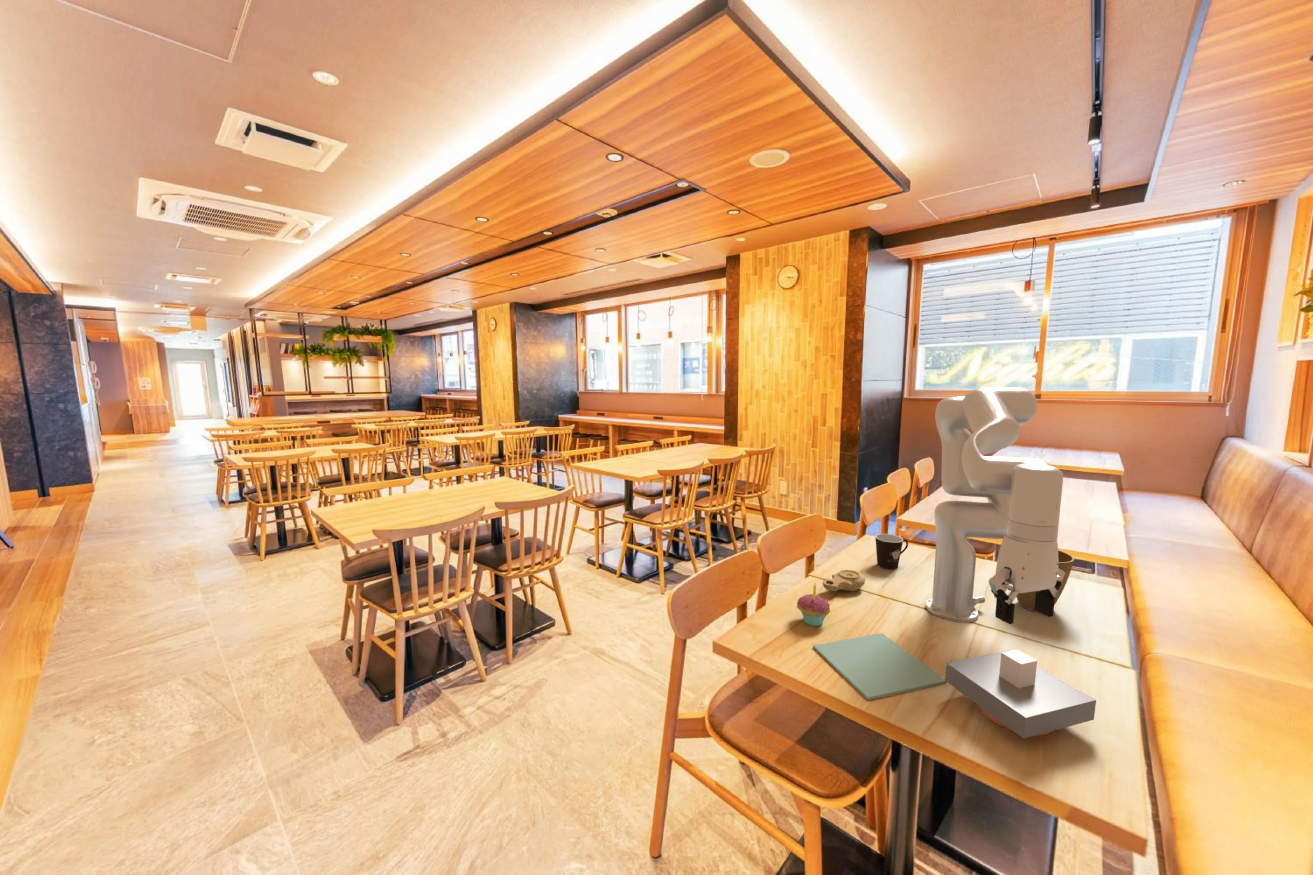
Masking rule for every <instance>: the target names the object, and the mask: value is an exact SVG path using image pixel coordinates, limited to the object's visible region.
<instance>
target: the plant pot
mask: <svg viewBox="0 0 1313 875" xmlns="http://www.w3.org/2000/svg"><path fill="white" fill-rule="evenodd" d="M1074 561H1075V558H1074V556H1072V555H1071V554H1069V553H1067V552H1065V551H1062V550H1059V549H1058V568H1059V569H1061V570H1063V571H1064V572H1065V575H1064V577H1063V580H1062V581H1061V583H1062V584H1061V586H1060V588H1059V589H1058V590H1057V592H1058V595H1057V596H1056V597H1054V596H1053V597H1054V598H1055V603H1054V606H1056V604H1057V602H1058V600H1059V598H1060V597H1061V595H1062V593H1063V592H1064V589H1065V587H1066V585H1067V582H1068V580H1069V577H1070V575H1071V572H1072V569H1073V564H1074ZM1012 587H1014V585H1012ZM1035 596H1036V591H1033V592H1026V593H1018V595H1017V596H1016V600H1017V603H1018V604H1019V605H1020V606H1021V607H1022V608H1025V609H1027V610H1030V611H1034V612H1036V611H1035V610H1034V606H1035Z"/></svg>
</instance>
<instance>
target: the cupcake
mask: <svg viewBox="0 0 1313 875" xmlns="http://www.w3.org/2000/svg"><path fill="white" fill-rule="evenodd" d="M812 590H813V591H812V593H809V594H805V595H802V596H801V597H799V598H798V599H797V603H796V609H798V610H799V611H800V612H801V615H802V617H803V618H802V619H803V622H804V623H805V624H806V625H809V626H813V627H819V626H822V625H823V624H824V621H825V618H826V617H827V616H828V615H829V613H831V606H830V605H831V604H830V602H829V601H828V600H827V599H825V598H824V597H822V596H820V595H817V592H816V591H817V585H816V584H814V585H813V588H812Z"/></svg>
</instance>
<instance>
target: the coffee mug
mask: <svg viewBox="0 0 1313 875" xmlns="http://www.w3.org/2000/svg"><path fill="white" fill-rule="evenodd" d="M874 537H875V550H876V551H875V552H876V561H877V562H876V564H877V565H876V566H878V567H879V566H880V567H879V568H882V569H884V570H890V571H893V570H897V569H898V568H899V563H900V558H901V555H902V554H903V553H904V552H905V551H906V550H907V548H908V546H909V541H908V540H906V539H903V537H901V536H899V535H896V534H895V535H894V534H891V533H890V534H889V533H879V534H875V536H874ZM904 542H905V543H906V544H905V547H904V548H902V547H903V543H904ZM902 549H903V550H902Z"/></svg>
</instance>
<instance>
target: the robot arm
mask: <svg viewBox="0 0 1313 875" xmlns="http://www.w3.org/2000/svg"><path fill="white" fill-rule="evenodd" d="M1037 412H1038V402H1037V398H1036V397H1035V395H1034V394H1033V393H1032V391H1030V390H1029V389H1028V388H1023V387H992V386H991V387H979V388H975V389H972V390H970V391H969V392H967V393H966V394H965V396H951V397H946V398H943V399H941V400H939V401H938V403H937V404H936V407H935V413H934V416H935V417H934V419H935V424H936V430H937V432H938V435H939V437H940V441H941V487H942V489H943V491H944V492H945V494H948V495H950V496H951V495H952V496H957V497H970V498H971V497H974V498H986V499H987V502H983V501H982V502H980V501H970V500H969V501H967V500H966V501H965V500H946V501H943V502H940V503H938V504H937V505H936V506H935V509H934V512H933V513H934V518H933V519H934V526H935V554H934V555H935V558H934V569H933V570H934V571H933V573H934V574H933V585H932V597H930V598H928V599H926V601H925V608H926V609H927V611H929V612H930V613H931V614H933V615H935V616H937V617H939V618H941V619H944V620H946V621H952V622H957V623H972V622H974V621H977V619H978V618H979V611H978V610H977V609H976V607H975V606H977V604H983V603H985V602H986V598H985V597H984V596H982V595H977V596H974V589H975V588H974V586H975V574H976V563H977V553H976V550H975V548H974V547H973V546H972V544H971V543H970V542H969V541H968V540H967V539H968V538H970V539H971V538H978V539H988V540H990V539H991V540H999V539H1000V540H1001V539H1002V540H1001V543H1000V547H999V551H998V556H997V561H996V567H995V574H994V575H993V576H992V577H990V578H989V579H988V585H989V586H990V592H991V593H992V594H993V597H994V598H995V599H996V601H995V602H996V603H995V613H994V614H995V618H997V619H998V620H1000V621H1002V622H1004V623H1006V624H1008V625H1013V624H1014V622H1015V621H1014V620H1015V610H1016V604H1015V603H1014V601H1015V600H1016V599H1017V597H1016V596H1017V595H1018V593H1026V592H1033V591H1036V596H1035V606H1034V610H1035V611H1034V612H1037V613H1039V614H1041V615H1043V616H1046V617H1048V618H1053V617H1054V614H1055V613H1054V611H1055V605H1054V603H1055V598H1054V597H1056V596H1057V595H1058V592H1057V590H1058V589H1059V588H1060V586H1061V584H1062V583H1061V581H1062V580H1063V577H1064V575H1065V572H1064V571H1063V570H1061V569H1059V568H1058V550H1059V546H1058V545H1059V544H1058V535H1059V524H1060V516H1061V515H1060V513H1061V506H1062V505H1061V503H1062V495H1063V484H1064V474H1063V472H1062V471H1061V469H1060V468H1057V467H1056V466H1053V465H1052V466H1051V464H1050V462H1048V461H1046V460H1044V459H1041V458H1035V457H1034V458H1033V457H1016V456H1015V457H1013V456H1011V457H1009V456H986V455H989V454H991V453H994V452H997V451H1001V450H1003V449H1004V450H1005V449H1007V448H1008V447H1010V446H1011V445H1013V444H1015V443H1016V441H1017V440H1018V439H1019V437H1020V434H1021V427H1020V426H1024V425H1026V424H1028V423H1030V422H1031V421H1033V420H1034V418H1035V417H1036V416H1037V415H1036V414H1037ZM969 430H971V432H970V431H969ZM1013 585H1014V587H1013ZM1007 590H1008V591H1009V593H1006V591H1007ZM1053 596H1054V597H1053Z"/></svg>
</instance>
